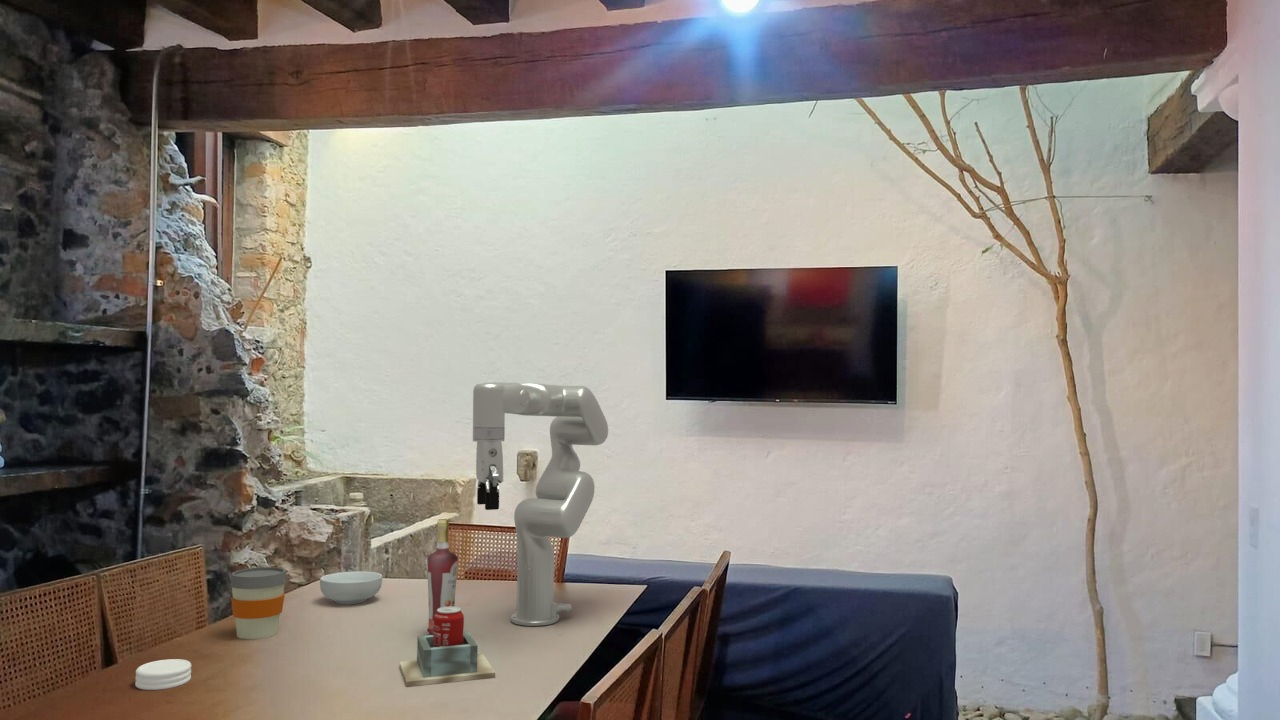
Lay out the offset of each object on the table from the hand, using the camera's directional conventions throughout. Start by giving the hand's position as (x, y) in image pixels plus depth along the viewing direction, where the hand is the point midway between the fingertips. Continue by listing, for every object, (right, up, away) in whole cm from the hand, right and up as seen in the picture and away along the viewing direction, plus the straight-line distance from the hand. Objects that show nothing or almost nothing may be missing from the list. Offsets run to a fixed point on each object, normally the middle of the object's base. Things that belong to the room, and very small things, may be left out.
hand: (487, 506), depth 210 cm
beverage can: (-5, -30, -22) cm, 38 cm away
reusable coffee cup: (-57, -32, +4) cm, 65 cm away
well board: (-5, -31, -23) cm, 39 cm away
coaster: (-60, -31, -31) cm, 75 cm away
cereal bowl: (-45, -33, +38) cm, 68 cm away
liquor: (-12, -32, +5) cm, 35 cm away
